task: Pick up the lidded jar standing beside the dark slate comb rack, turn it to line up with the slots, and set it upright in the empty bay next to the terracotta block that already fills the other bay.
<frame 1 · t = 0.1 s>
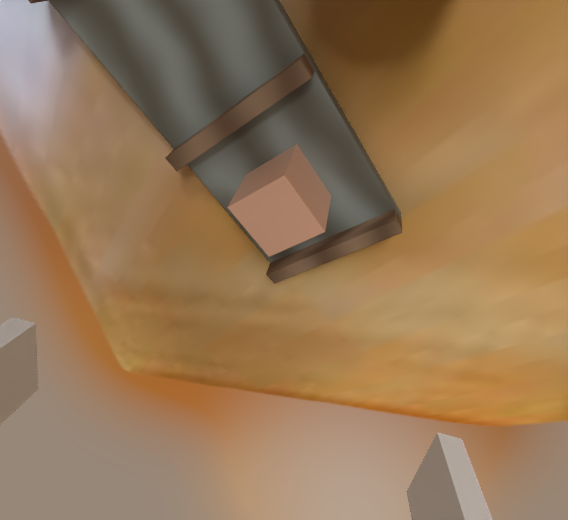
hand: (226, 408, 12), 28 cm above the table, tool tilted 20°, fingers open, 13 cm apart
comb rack: (241, 108, 34), on the table
terracotta block: (288, 185, 36), point 1 cm above the table, touching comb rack
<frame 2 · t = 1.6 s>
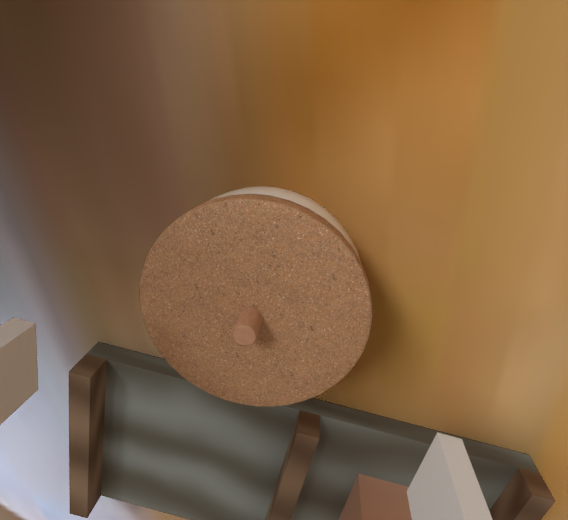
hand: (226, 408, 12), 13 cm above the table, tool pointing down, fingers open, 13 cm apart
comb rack: (288, 466, 31), on the table
terracotta block: (384, 509, 30), point 1 cm above the table, touching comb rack
lidded jar: (275, 252, 24), on the table
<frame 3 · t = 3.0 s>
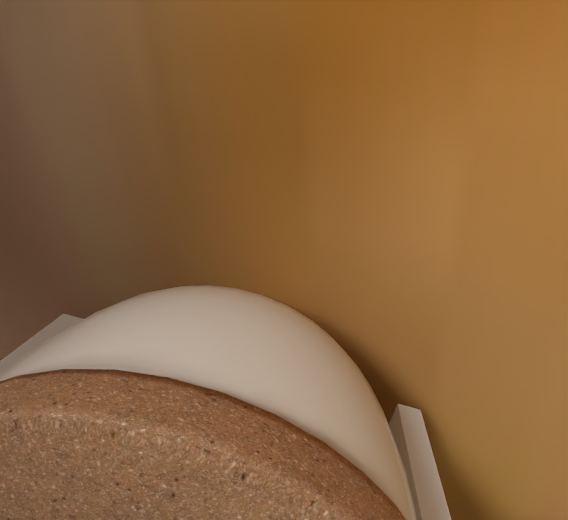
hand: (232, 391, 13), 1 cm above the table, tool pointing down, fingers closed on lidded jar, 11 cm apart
lidded jar: (240, 369, 14), on the table, touching gripper
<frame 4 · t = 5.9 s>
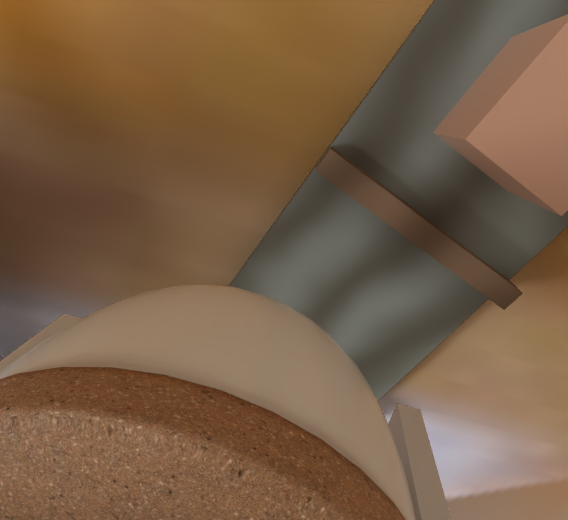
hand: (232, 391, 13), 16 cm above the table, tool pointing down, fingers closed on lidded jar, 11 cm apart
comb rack: (410, 218, 26), on the table
terracotta block: (509, 119, 22), point 1 cm above the table, touching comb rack
lidded jar: (239, 368, 14), point 15 cm above the table, touching gripper
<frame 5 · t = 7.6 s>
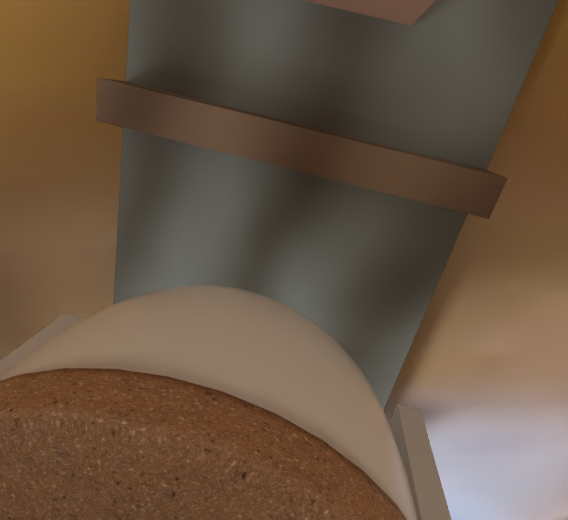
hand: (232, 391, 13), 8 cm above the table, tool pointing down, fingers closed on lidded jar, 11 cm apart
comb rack: (301, 141, 17), on the table
lidded jar: (240, 369, 14), point 6 cm above the table, touching gripper
when the fingers open (4 cm above the table, at t = 8.9 s): lidded jar drops 1 cm, resting on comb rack.
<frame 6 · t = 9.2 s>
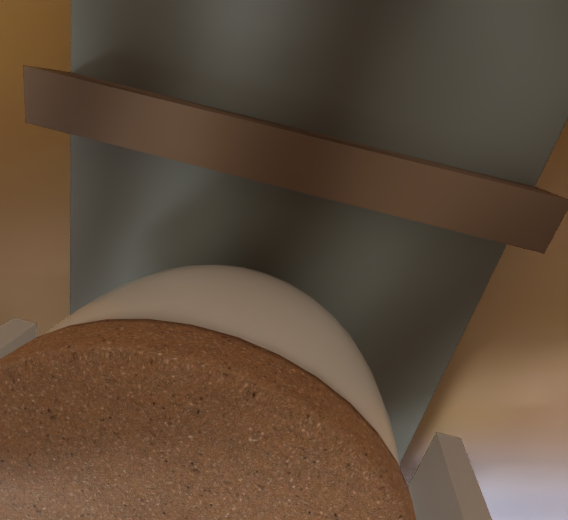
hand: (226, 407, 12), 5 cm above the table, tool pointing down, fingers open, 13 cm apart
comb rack: (296, 148, 14), on the table
lidded jar: (244, 347, 15), point 1 cm above the table, touching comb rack
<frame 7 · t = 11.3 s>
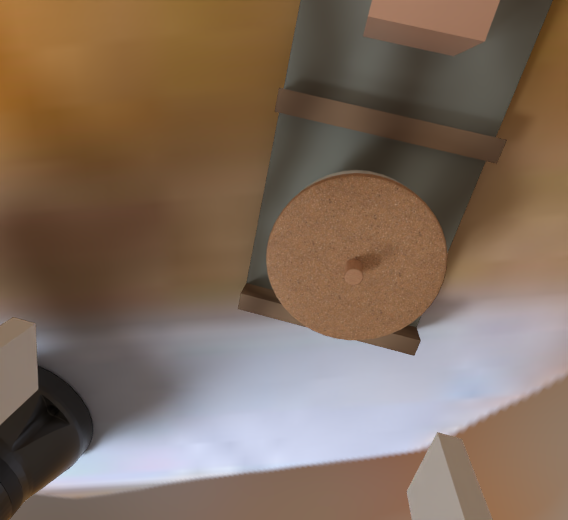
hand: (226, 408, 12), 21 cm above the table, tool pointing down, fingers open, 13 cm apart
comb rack: (382, 123, 28), on the table
lidded jar: (351, 227, 30), point 1 cm above the table, touching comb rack
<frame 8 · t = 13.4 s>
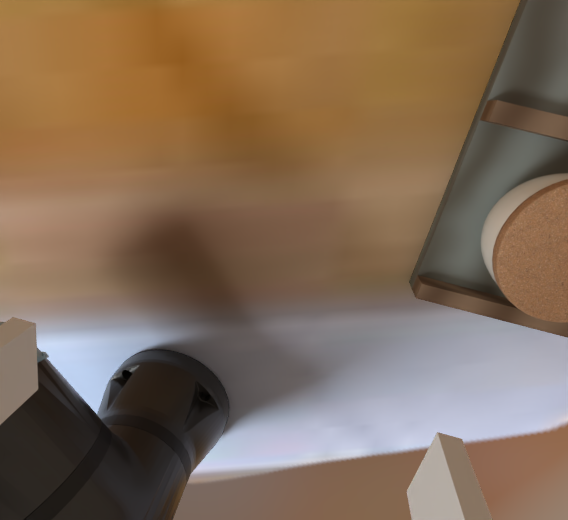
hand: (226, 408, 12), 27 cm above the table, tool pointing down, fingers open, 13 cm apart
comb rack: (565, 131, 32), on the table
lidded jar: (526, 224, 33), point 1 cm above the table, touching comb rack
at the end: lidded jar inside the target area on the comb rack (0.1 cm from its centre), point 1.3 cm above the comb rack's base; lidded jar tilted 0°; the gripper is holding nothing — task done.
